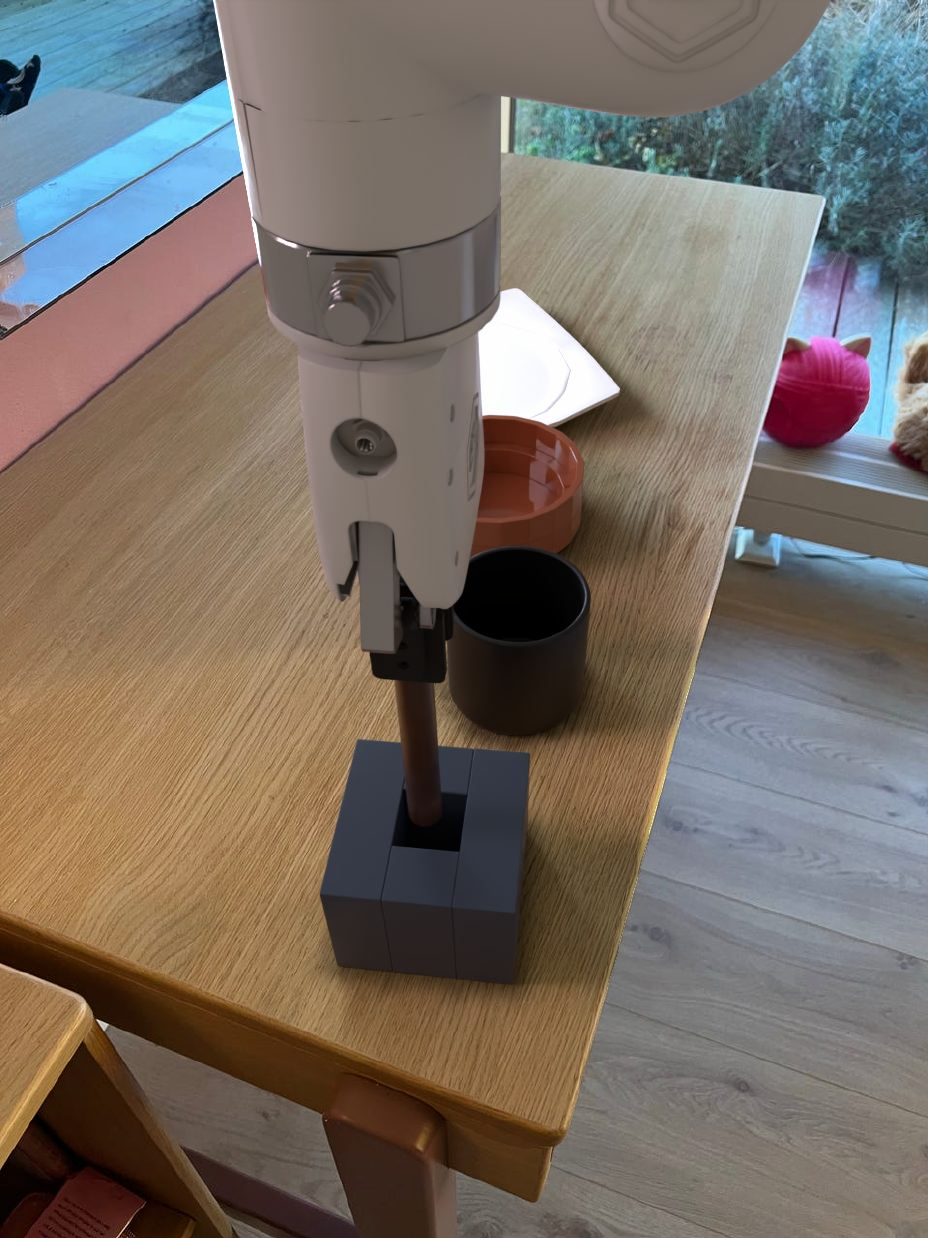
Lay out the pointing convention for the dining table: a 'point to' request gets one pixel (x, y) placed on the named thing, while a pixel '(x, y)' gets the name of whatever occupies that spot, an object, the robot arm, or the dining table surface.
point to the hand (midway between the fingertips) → (414, 653)
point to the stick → (419, 746)
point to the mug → (519, 640)
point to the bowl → (527, 486)
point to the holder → (429, 866)
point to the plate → (537, 366)
